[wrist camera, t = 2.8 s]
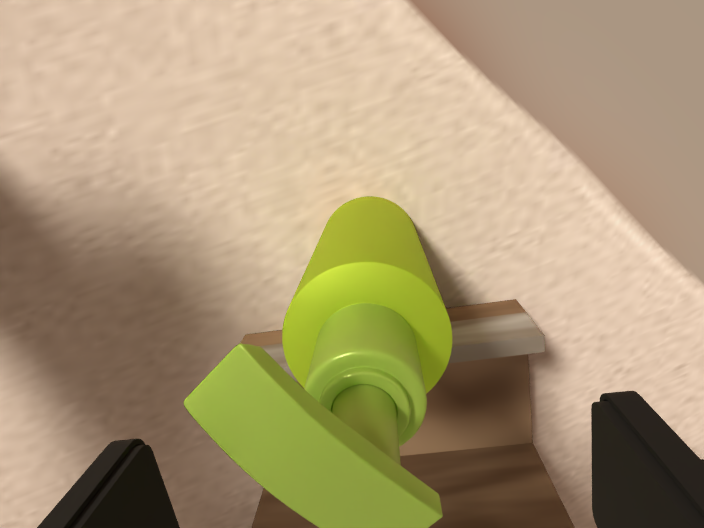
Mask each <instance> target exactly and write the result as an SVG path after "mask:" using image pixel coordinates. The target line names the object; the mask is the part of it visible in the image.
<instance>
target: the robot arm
mask: <svg viewBox="0 0 704 528" xmlns="http://www.w3.org/2000/svg"><path fill="white" fill-rule="evenodd" d="M591 411H592V510H593V516H594V519H595V523H596V525H597V528H704V460H703V459H702V460H700V458H699V457H698V456H697V455H696V454H695V453H694V452H693V451H692V450H691V449H690V448H689V447H688V446H687V445H686V444H685V443H684V442H683V440H682V439H681V438H680V437H679V436H678V435H677V434H676V433H675V432H674V431H673V430H672V429H671V428H670V427H669V426H668V425H667V424H666V422H665V421H664V420H663V419H662V418H661V417H660V416H659V415H658V414H657V413H656V412H655V411H654V410H653V409H652V408H651V407H650V406H649V404H648V403H647V402H646V401H645V400H644V399H643V398H642V397H641V396H640V395H639V394H638V393H637V392H635V391H625V392H614V393H604V394H602V395H601V397H600V402H594V403H593V404H592V409H591ZM37 528H180V527H179V524H178V521H177V519H176V516H175V513H174V510H173V507H172V505H171V502H170V499H169V496H168V493H167V491H166V488H165V485H164V482H163V479H162V476H161V474H160V471H159V468H158V465H157V462H156V460H155V457H154V454H153V451H152V449H151V447H150V446H149V445H145V443H144V442H143V441H142V440H141V439H130V440H119V441H114V442H111V443H110V444H109V445H108V446H107V447H106V448H105V449H104V450H103V452H102V453H101V454H100V455H99V456H98V457H97V459H96V460H95V461H94V462H93V463H92V464H91V465H90V467H89V468H88V469H87V470H86V471H85V472H84V474H83V475H82V476H81V477H80V478H79V479H78V481H77V482H76V483H75V484H74V485H73V486H72V488H71V489H70V490H69V491H68V492H67V493H66V495H65V496H64V497H63V498H62V499H61V500H60V502H59V503H58V504H57V505H56V506H55V507H54V509H53V510H52V511H51V512H50V513H49V514H48V516H47V517H46V518H45V519H44V520H43V521H42V523H41V524H40V525H39V526H38V527H37Z"/></svg>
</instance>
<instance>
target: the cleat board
mask: <svg viewBox="0 0 704 528" xmlns="http://www.w3.org/2000/svg"><path fill="white" fill-rule="evenodd" d="M446 310H447V313H448V316H449V319H450V323H451V328H452V350H451V355H450V359H449V362H448V364H447V367H446V369H445V371H444V373H443V375H442V376H441V378H440V379H439V381H438V382H437V383H436V385H435V386H434V387H433V388H432V389H431V390H430V391H429V392H428V393H427V394H426V396H427V407H426V413H425V417H424V420H423V422H422V424H421V426H420V428H419V429H418V431H417V432H416V433H415V435H414V436H413V437H412V438H411V439H410V440H408V441H407V442H406V443H404V444H403V445H401V446H400V447H399V449H400V462H401V466H402V467H403V468H405V469H406V470H407V471H409V472H410V473H411V474H413V475H414V476H415V477H417V478H418V479H419V480H421V481H422V482H423V483H425V484H426V485H427V486H429V487H430V488H431V489H433V490H434V491H435V492H437V493H438V494H439V497H440V503H441V508H442V514H443V517H442V518H440V519H439V520H438V521H436V522H435V523H434V524H432V525H431V526H430V527H428V528H574V526H573V523H572V521H571V519H570V517H569V515H568V513H567V511H566V509H565V507H564V505H563V503H562V501H561V499H560V497H559V495H558V493H557V491H556V489H555V487H554V485H553V483H552V481H551V479H550V477H549V475H548V473H547V471H546V469H545V467H544V465H543V463H542V461H541V459H540V457H539V455H538V453H537V451H536V449H535V447H534V445H533V440H532V421H531V401H530V382H529V362H528V354H532V353H540V352H545V338H544V334H543V333H542V332H541V331H540V329H539V328H538V327H537V325H536V324H535V323H534V322H533V320H532V319H531V318H530V317H529V315H528V314H527V313H526V312H525V310H524V309H523V308H522V307H521V305H520V304H519V303H518V302H517V300H516V299H515V300H507V301H500V302H492V303H485V304H477V305H469V306H462V307H454V308H446ZM282 331H283V330H278V331H271V332H263V333H255V334H248V335H245V336H244V338H243V340H242V341H241V343H240V344H250V345H255V346H259V347H261V348H262V349H264V350H265V351H266V352H267V353H268V354H269V355H270V356H271V357H272V358H273V359H274V360H275V361H276V362H277V363H278V364H279V365H280V366H281V367H282V368H283V369H284V370H285V371H286V372H287V373H288V374H289V375H290V376H291V377H292V378H293V379H294V380H295V381H296V382H297V383H298V384H299V385H300V386H301V384H300V383H299V382H298V381H297V379H296V378H295V377H294V375H293V373H292V372H291V370H290V368H289V366H288V363H287V361H286V358H285V354H284V350H283V343H282ZM301 387H302V386H301ZM302 388H303V387H302ZM252 528H319V527H317V526H316V525H314V524H313V523H311V522H310V521H308V520H307V519H305V518H304V517H302V516H301V515H299V514H298V513H297V512H295V511H294V510H292V509H291V508H289V507H288V506H287V505H285V504H284V503H283V502H281V501H280V500H279V499H277V498H276V497H275V496H274V495H272V494H271V493H270V492H269V491H267V490H266V489H265V488H263V492H262V495H261V498H260V502H259V505H258V508H257V512H256V515H255V518H254V522H253V525H252Z"/></svg>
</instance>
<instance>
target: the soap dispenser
mask: <svg viewBox="0 0 704 528" xmlns="http://www.w3.org/2000/svg"><path fill="white" fill-rule="evenodd" d="M282 343H283V350H284V354H285V358H286V361H287V363H288V366H289V368H290V370H291V372H292V373H293V375H294V377H295V378H296V379H297V381H298V382H299V383H300V384H301V386H302V387H303V388H302V387H301V386H300V385H299V384H298V383H297V382H296V381H295V380H294V379H293V378H292V377H291V376H290V375H289V374H288V373H287V372H286V371H285V370H284V369H283V368H282V367H281V366H280V365H279V364H278V363H277V362H276V361H275V360H274V359H273V358H272V357H271V356H270V355H269V354H268V353H267V352H266V351H265V350H264V349H262V348H261V347H259V346H255V345H250V344H238V345H237V346H235V347H234V348H233V349H232V350H231V352H230V353H229V354H228V355H227V356H226V357H225V358H224V359H223V360H222V361H221V362H220V363H219V364H218V365H217V366H216V367H215V368H214V369H213V370H212V371H211V372H210V373H209V374H208V375H207V376H206V378H205V379H204V380H203V381H202V382H201V383H200V384H199V385H198V386H197V387H196V388H195V389H194V390H193V391H192V392H191V393H190V395H189V396H188V397H187V398H186V399H185V400H184V406H185V408H186V409H187V410H188V412H189V413H190V414H191V416H192V417H193V418H194V419H195V420H196V421H197V422H198V424H199V425H200V426H201V427H202V428H203V429H204V430H205V431H206V432H207V434H208V435H209V436H210V437H211V438H212V439H213V440H214V441H215V442H216V443H217V444H218V445H219V446H220V447H221V448H222V449H223V450H224V452H225V453H226V454H227V455H228V456H229V457H230V458H231V459H233V460H234V461H235V462H236V463H237V464H238V465H239V466H240V467H241V468H242V469H243V470H244V471H245V472H246V473H247V474H249V475H250V476H251V477H252V478H253V479H254V480H255V481H256V482H258V483H259V484H260V485H261V486H262V487H264V488H265V489H266V490H267V491H269V492H270V493H271V494H272V495H274V496H275V497H276V498H277V499H279V500H280V501H281V502H283V503H284V504H285V505H287V506H288V507H289V508H291V509H292V510H294V511H295V512H297V513H298V514H299V515H301V516H302V517H304V518H305V519H307V520H308V521H310V522H311V523H313V524H314V525H316V526H317V527H319V528H428V527H430V526H431V525H432V524H434V523H435V522H436V521H438V520H439V519H440V518H442V517H443V514H442V508H441V503H440V497H439V494H438V493H437V492H435V491H434V490H433V489H431V488H430V487H429V486H427V485H426V484H425V483H423V482H422V481H421V480H419V479H418V478H417V477H415V476H414V475H413V474H411V473H410V472H409V471H407V470H406V469H405V468H403V467H402V466H401V462H400V449H399V447H400V446H401V445H403V444H404V443H406V442H407V441H408V440H410V439H411V438H412V437H413V436H414V435H415V433H416V432H417V431H418V429H419V428H420V426H421V424H422V422H423V420H424V417H425V413H426V407H427V396H426V394H427V393H428V392H429V391H430V390H431V389H432V388H433V387H434V386H435V385H436V383H437V382H438V381H439V379H440V378H441V376H442V375H443V373H444V371H445V369H446V367H447V364H448V362H449V359H450V355H451V350H452V328H451V323H450V319H449V316H448V313H447V310H446V308H445V305H444V303H443V300H442V297H441V295H440V292H439V290H438V287H437V284H436V282H435V279H434V277H433V274H432V271H431V269H430V266H429V264H428V261H427V258H426V256H425V253H424V251H423V248H422V245H421V243H420V240H419V238H418V235H417V232H416V230H415V227H414V225H413V223H412V221H411V219H410V217H409V216H408V215H407V213H406V212H405V211H404V210H403V209H402V208H401V207H399V206H398V205H396V204H395V203H393V202H391V201H389V200H387V199H383V198H379V197H361V198H356V199H353V200H351V201H349V202H347V203H345V204H343V205H342V206H341V207H339V208H338V209H337V210H336V211H335V212H334V213H333V215H332V216H331V217H330V219H329V220H328V222H327V224H326V227H325V229H324V231H323V233H322V235H321V238H320V240H319V242H318V244H317V246H316V249H315V251H314V253H313V255H312V257H311V260H310V262H309V264H308V266H307V268H306V271H305V273H304V275H303V277H302V279H301V281H300V284H299V286H298V288H297V290H296V292H295V295H294V297H293V299H292V301H291V303H290V306H289V308H288V310H287V313H286V316H285V319H284V324H283V331H282Z"/></svg>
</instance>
